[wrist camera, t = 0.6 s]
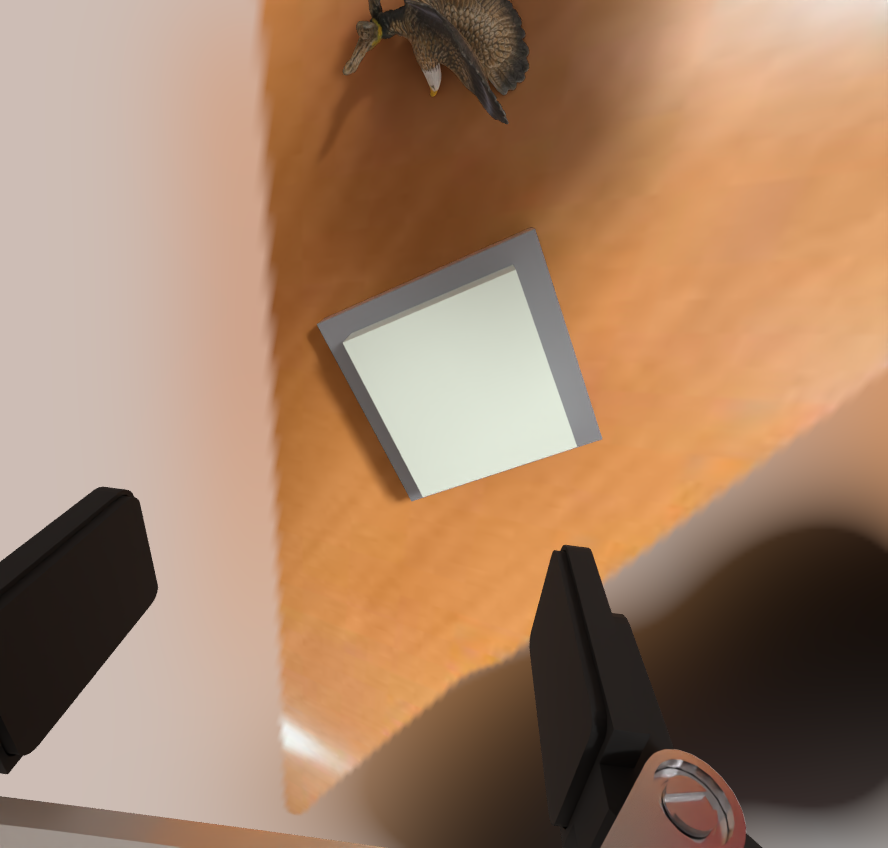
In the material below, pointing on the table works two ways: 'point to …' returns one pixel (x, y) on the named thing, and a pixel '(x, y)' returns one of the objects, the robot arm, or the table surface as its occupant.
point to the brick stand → (466, 368)
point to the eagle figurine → (454, 43)
